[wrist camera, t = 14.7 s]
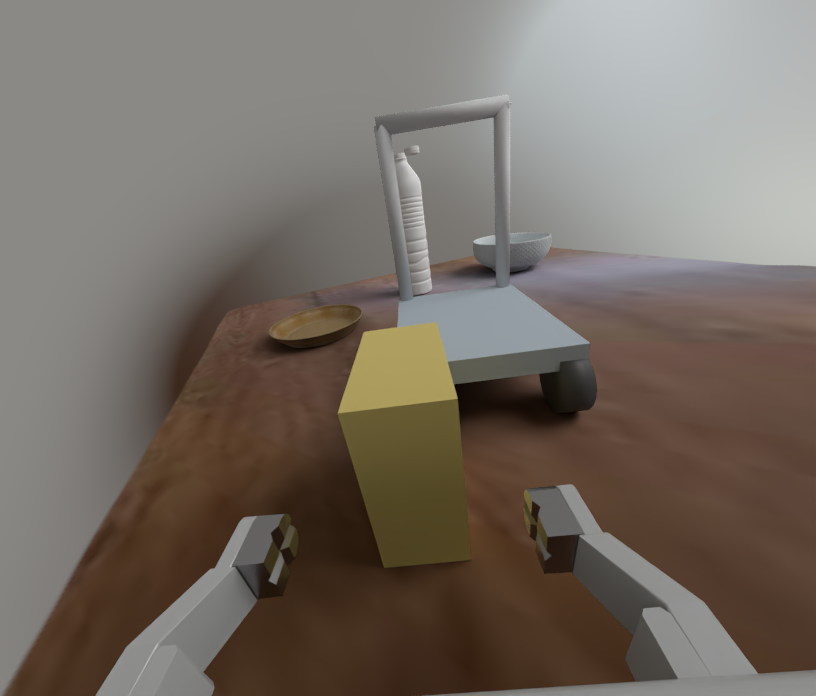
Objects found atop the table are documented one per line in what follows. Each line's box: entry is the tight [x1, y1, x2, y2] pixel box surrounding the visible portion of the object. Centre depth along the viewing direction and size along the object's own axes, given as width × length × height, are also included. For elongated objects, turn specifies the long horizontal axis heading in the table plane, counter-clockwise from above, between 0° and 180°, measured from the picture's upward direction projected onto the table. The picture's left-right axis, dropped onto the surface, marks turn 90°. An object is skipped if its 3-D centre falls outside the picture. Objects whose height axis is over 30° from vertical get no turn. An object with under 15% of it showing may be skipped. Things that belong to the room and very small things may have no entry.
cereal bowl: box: [473, 232, 552, 272], centre depth 69 cm, size 17×17×7 cm
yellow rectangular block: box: [338, 322, 471, 568], centre depth 17 cm, size 4×8×10 cm, turn 1°
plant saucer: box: [269, 304, 363, 348], centre depth 48 cm, size 15×15×3 cm
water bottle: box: [394, 146, 432, 296], centre depth 57 cm, size 9×6×25 cm
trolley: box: [374, 94, 597, 413], centre depth 27 cm, size 14×21×25 cm, turn 1°
